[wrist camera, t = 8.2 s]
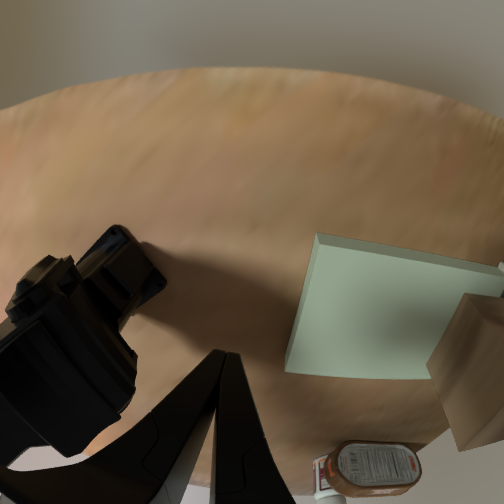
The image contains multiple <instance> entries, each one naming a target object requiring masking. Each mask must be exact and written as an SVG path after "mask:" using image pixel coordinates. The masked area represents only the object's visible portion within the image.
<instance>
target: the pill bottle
mask: <svg viewBox="0 0 504 504" xmlns="http://www.w3.org/2000/svg"><path fill="white" fill-rule="evenodd" d="M327 456H328V455H325V456H322V457H319V458H317V459H315V460H314V462H313V482H314V498H315V499H316V500H318V501H317V503H316V504H346V498H345V496H343V495H341V494H339V493H337V492H336V491H335V490H333V489H332V488H331V487H330V485H329V484H328V483H327V481H326V479H325V476H324V471H323V467H324V462H325V460H326V458H327Z"/></svg>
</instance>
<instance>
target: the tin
mask: <svg viewBox="0 0 504 504" xmlns="http://www.w3.org/2000/svg"><path fill="white" fill-rule="evenodd" d="M323 471H324V476H325V479H326V481H327V483H328V484H329V485H330V487H331V488H332V489H333V490H335V491H336V492H337V493H339V494H341V495H343V496H346V497H352V498H358V497H382V496H397V495H401V494H403V493H405V492H407V491H408V490H409V489H410V488H411V487H413V486H414V485H415V484H416V483H417V482H418V481H419V479H420V477H421V474H422V469H421V464H420V461H419V459H418V457H417V455H416V453H415V452H414V451H413V450H412V449H410V448H409V447H408V446H406V445H403V444H400V443H386V442H368V441H347V442H345V443H343V444H341V445H340V446H338V447H337V448H336V449H335V450H334V451H333V452H331V453H330V454H329V455H328V456H327V458H326V460H325V462H324V467H323Z"/></svg>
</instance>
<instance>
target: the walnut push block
mask: <svg viewBox="0 0 504 504" xmlns="http://www.w3.org/2000/svg"><path fill="white" fill-rule="evenodd" d="M425 365H426V367H427V369H428V372H429V374H430V376H431V379H432V381H433V384H434V386H435V388H436V391H437V393H438V396H439V398H440V401H441V403H442V406H443V409H444V411H445V414H446V417H447V419H448V422H449V425H450V428H451V430H452V433H453V436H454V439H455V442H456V445H457V448H458V451H459V452H461V451H465V450H469V449H473V448H477V447H481V446H484V445H488V444H491V443H495V442H498V441H501V440H504V298H500V297H493V296H485V295H478V294H470V293H464V294H463V296H462V298H461V300H460V302H459V305H458V307H457V309H456V311H455V313H454V315H453V317H452V319H451V320H450V322H449V324H448V326H447V328H446V330H445V332H444V334H443V335H442V337H441V339H440V341H439V343H438V344H437V346H436V348H435V349H434V351H433V353H432V355H431V356H430V358H429V359H428V361H427V363H426V364H425Z"/></svg>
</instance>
